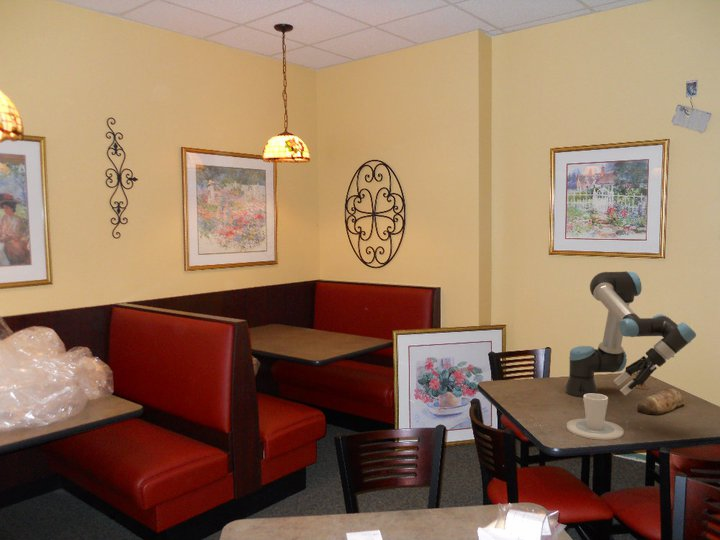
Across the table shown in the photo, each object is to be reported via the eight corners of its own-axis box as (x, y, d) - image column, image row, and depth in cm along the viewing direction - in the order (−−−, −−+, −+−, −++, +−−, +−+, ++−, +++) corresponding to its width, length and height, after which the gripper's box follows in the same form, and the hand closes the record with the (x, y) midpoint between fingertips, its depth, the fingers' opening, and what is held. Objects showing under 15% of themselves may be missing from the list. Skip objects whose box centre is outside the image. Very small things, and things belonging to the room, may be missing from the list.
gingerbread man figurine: (648, 388, 300) (649, 365, 299) (646, 390, 297) (647, 367, 296) (630, 385, 306) (631, 363, 305) (628, 387, 303) (629, 364, 302)
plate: (555, 426, 246) (555, 423, 246) (591, 418, 256) (591, 415, 256) (597, 443, 226) (597, 440, 226) (635, 433, 236) (635, 430, 236)
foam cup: (606, 424, 244) (607, 394, 243) (608, 432, 235) (608, 400, 234) (582, 422, 247) (583, 392, 246) (583, 429, 238) (583, 398, 237)
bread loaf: (668, 424, 251) (670, 403, 250) (627, 413, 263) (629, 393, 262) (693, 408, 275) (695, 389, 274) (654, 398, 288) (656, 380, 287)
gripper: (676, 368, 222) (632, 404, 227) (658, 353, 246) (619, 386, 251) (661, 354, 223) (618, 390, 227) (645, 340, 247) (606, 373, 252)
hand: (618, 388), depth 239 cm, fingers open, 13 cm apart
